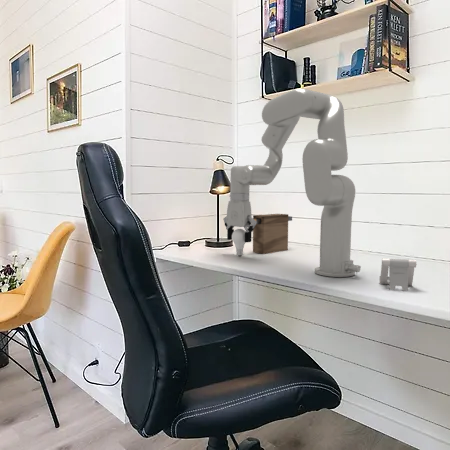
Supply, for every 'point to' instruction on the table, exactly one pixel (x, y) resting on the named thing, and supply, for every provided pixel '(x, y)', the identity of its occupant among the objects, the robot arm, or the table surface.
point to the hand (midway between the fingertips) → (239, 240)
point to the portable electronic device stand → (397, 273)
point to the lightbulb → (239, 240)
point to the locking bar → (260, 220)
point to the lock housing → (270, 233)
